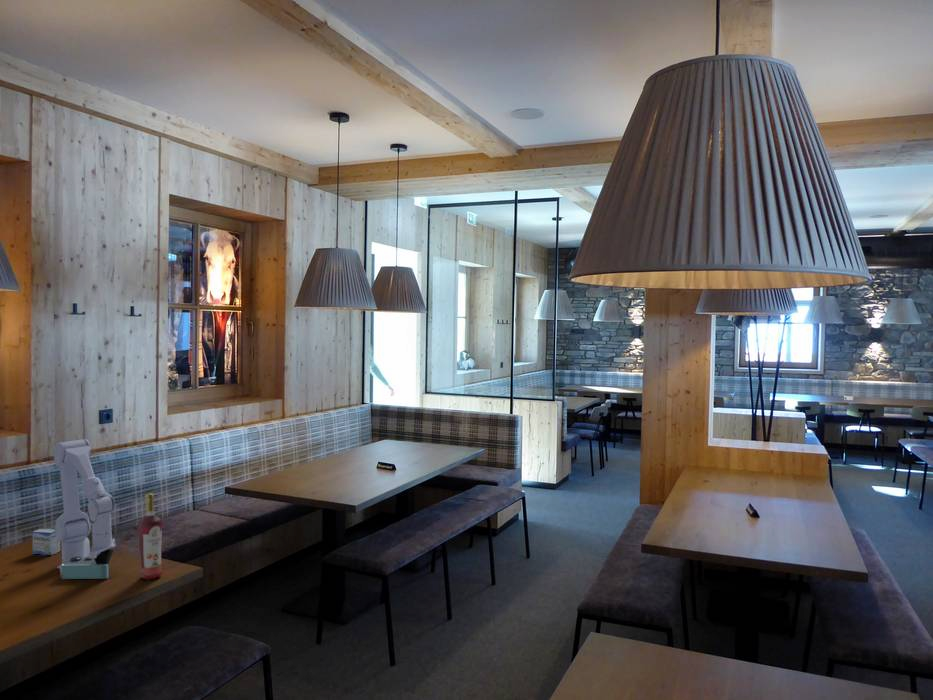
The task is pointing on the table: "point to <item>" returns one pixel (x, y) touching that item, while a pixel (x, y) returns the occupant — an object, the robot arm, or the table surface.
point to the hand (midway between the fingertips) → (103, 572)
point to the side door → (84, 571)
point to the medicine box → (45, 542)
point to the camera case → (81, 560)
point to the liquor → (150, 541)
